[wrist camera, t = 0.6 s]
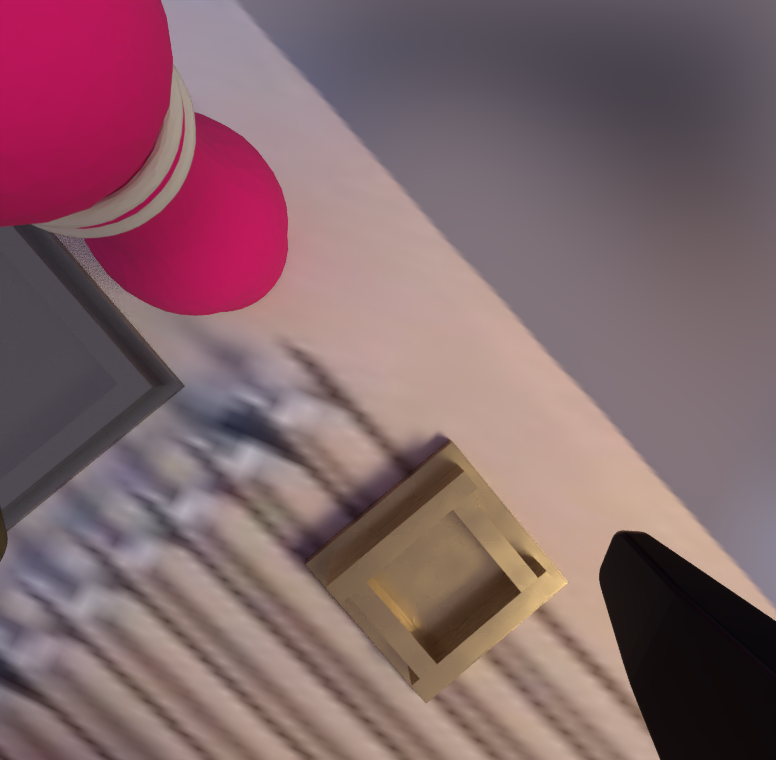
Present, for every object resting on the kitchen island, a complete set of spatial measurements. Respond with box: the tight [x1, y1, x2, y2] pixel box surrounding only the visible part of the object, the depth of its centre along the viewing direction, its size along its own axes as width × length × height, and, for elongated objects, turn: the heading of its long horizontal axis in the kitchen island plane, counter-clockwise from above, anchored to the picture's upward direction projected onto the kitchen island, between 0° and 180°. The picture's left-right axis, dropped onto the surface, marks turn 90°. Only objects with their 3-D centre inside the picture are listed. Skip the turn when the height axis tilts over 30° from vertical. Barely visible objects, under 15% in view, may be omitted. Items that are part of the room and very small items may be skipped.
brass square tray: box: [305, 440, 568, 703], centre depth 24 cm, size 9×9×2 cm
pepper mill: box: [0, 0, 288, 315], centre depth 14 cm, size 7×7×20 cm
